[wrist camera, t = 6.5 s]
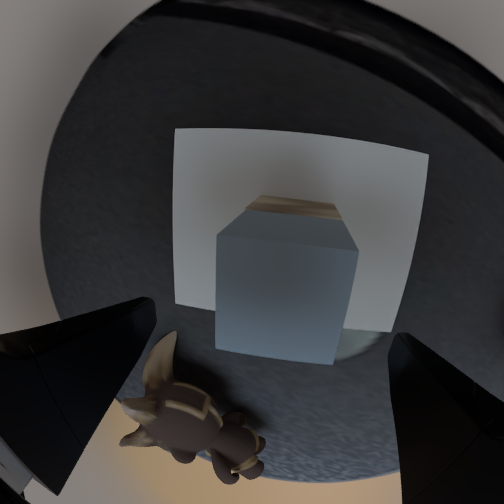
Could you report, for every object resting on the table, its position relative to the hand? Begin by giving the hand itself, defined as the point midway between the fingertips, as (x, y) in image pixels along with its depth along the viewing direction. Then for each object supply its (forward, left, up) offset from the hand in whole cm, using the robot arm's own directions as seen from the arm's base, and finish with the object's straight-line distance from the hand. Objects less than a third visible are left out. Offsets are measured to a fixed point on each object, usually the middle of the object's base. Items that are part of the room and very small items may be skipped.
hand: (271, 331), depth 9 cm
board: (0, 0, -12) cm, 12 cm away
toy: (+6, +18, -13) cm, 23 cm away
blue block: (0, 0, -7) cm, 7 cm away
